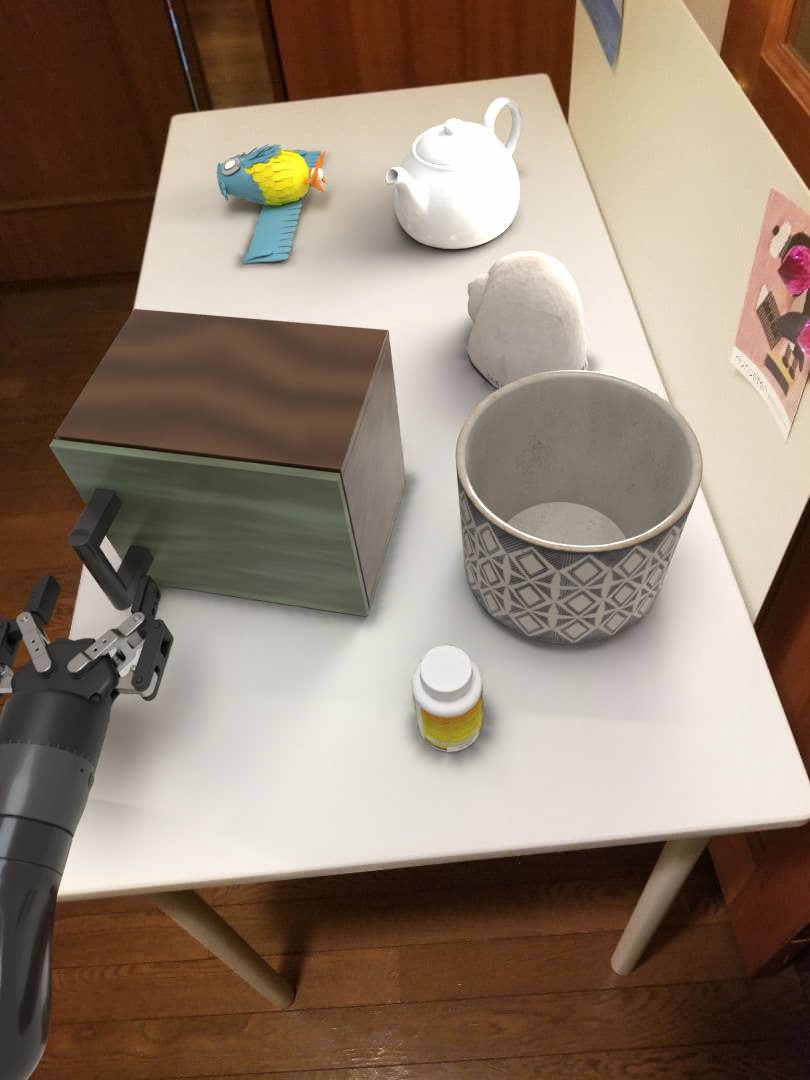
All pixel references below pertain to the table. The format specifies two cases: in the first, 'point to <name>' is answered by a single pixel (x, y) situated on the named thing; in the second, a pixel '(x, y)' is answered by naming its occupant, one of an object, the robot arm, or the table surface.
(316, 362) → the cupboard
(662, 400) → the planter
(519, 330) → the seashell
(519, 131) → the teapot
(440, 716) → the supplement bottle
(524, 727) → the table surface
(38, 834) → the robot arm
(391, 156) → the table surface
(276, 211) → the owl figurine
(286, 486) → the cupboard door
